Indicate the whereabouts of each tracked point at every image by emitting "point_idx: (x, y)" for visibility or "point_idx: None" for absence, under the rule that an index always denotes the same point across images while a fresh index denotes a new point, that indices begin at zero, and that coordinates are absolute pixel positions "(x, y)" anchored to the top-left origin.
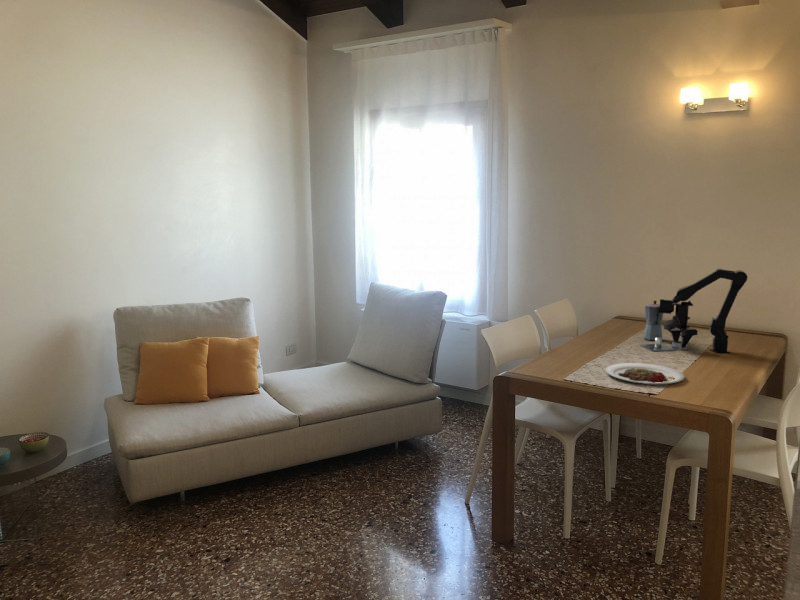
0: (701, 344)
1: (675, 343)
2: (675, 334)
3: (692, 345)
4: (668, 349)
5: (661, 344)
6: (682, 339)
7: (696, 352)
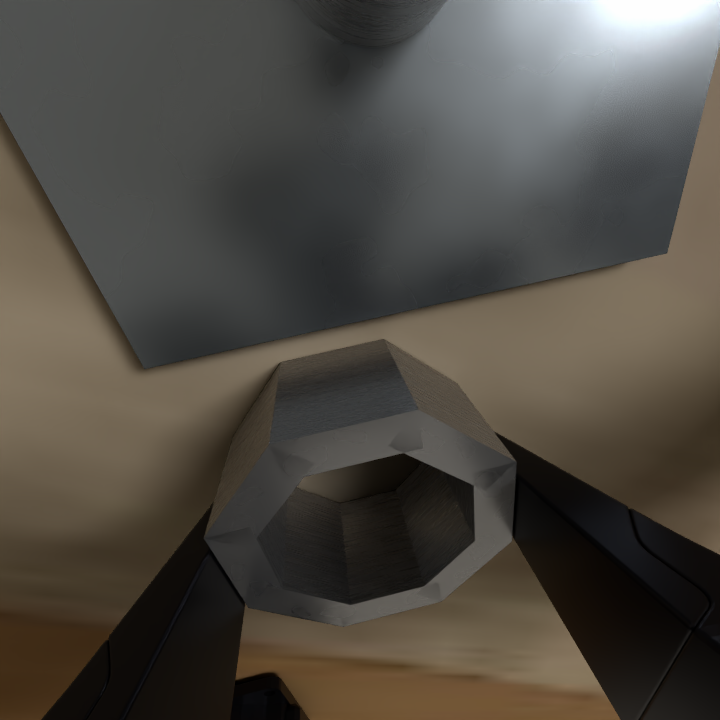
0: (522, 640)
1: (270, 441)
2: (667, 671)
3: (500, 586)
4: (34, 153)
5: (619, 193)
6: (90, 713)
7: (104, 578)
